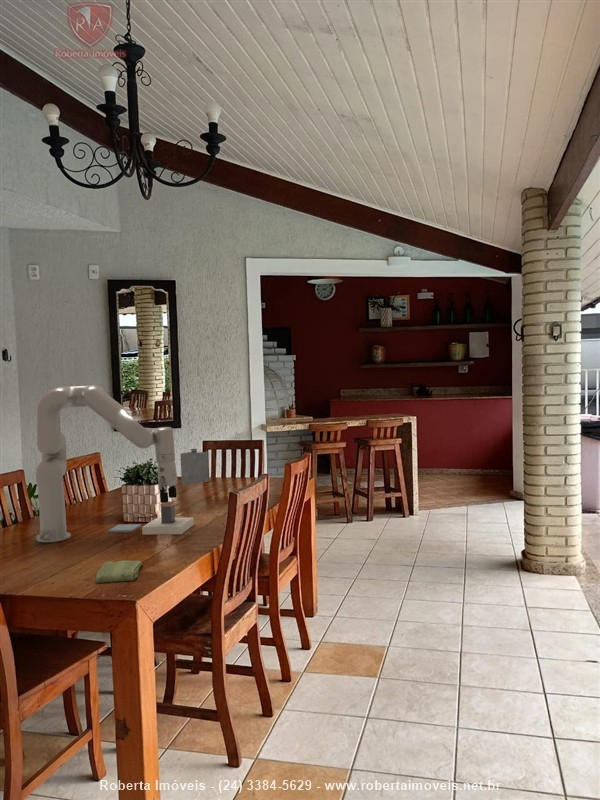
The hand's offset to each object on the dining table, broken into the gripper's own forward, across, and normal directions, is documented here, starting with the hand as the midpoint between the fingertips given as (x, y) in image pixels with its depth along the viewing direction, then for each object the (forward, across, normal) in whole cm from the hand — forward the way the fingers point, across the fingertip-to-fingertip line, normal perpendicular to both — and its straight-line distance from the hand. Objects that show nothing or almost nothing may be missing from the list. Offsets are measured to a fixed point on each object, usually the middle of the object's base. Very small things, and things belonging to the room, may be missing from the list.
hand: (168, 499), depth 268 cm
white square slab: (+12, 0, +1) cm, 12 cm away
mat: (+12, +1, +20) cm, 23 cm away
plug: (+12, 0, +1) cm, 12 cm away
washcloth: (+12, -58, -4) cm, 60 cm away
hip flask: (+12, +110, +24) cm, 113 cm away
